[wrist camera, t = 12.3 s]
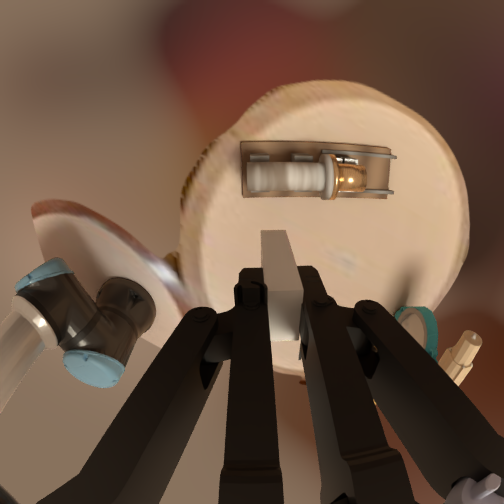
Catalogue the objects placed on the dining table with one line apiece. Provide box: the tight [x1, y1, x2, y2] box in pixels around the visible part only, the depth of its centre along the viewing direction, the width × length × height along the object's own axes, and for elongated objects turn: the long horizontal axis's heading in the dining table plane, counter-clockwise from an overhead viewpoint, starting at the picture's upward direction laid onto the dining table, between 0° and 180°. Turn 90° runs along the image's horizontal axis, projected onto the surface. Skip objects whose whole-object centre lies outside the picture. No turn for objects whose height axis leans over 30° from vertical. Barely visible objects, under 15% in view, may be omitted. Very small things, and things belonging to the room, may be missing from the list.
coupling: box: [329, 154, 367, 200], centre depth 42 cm, size 6×7×10 cm
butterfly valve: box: [394, 307, 482, 386], centre depth 49 cm, size 27×7×30 cm, turn 175°
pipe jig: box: [241, 142, 397, 200], centre depth 43 cm, size 29×10×12 cm, turn 91°
